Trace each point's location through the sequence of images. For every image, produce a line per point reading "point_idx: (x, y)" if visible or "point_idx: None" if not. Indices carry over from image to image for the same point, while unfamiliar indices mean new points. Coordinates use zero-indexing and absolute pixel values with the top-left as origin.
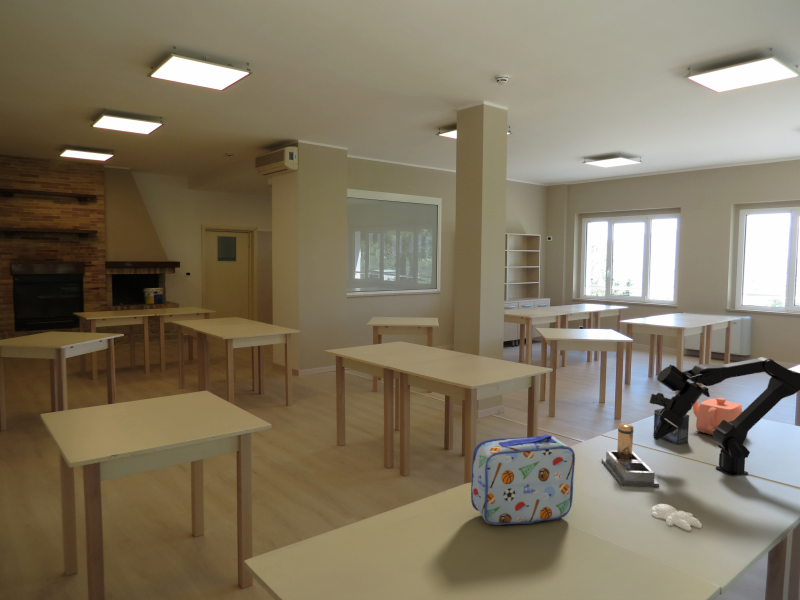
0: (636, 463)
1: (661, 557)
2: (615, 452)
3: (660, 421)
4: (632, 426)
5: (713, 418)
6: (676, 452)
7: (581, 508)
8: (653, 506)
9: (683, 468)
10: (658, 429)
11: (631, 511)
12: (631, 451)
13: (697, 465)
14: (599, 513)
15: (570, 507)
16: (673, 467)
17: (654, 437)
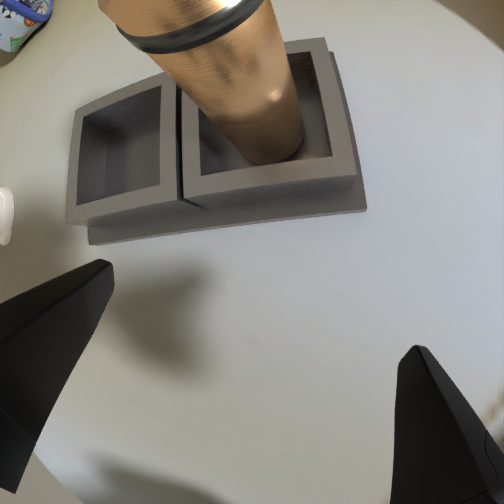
0: (162, 160)
1: None
2: (316, 75)
3: (483, 500)
4: (137, 4)
5: None
6: (495, 440)
7: (34, 61)
8: (2, 191)
9: (314, 431)
10: (6, 308)
11: (10, 146)
12: (215, 123)
13: (355, 487)
14: (17, 92)
15: (6, 51)
16: (322, 393)
17: (93, 266)
